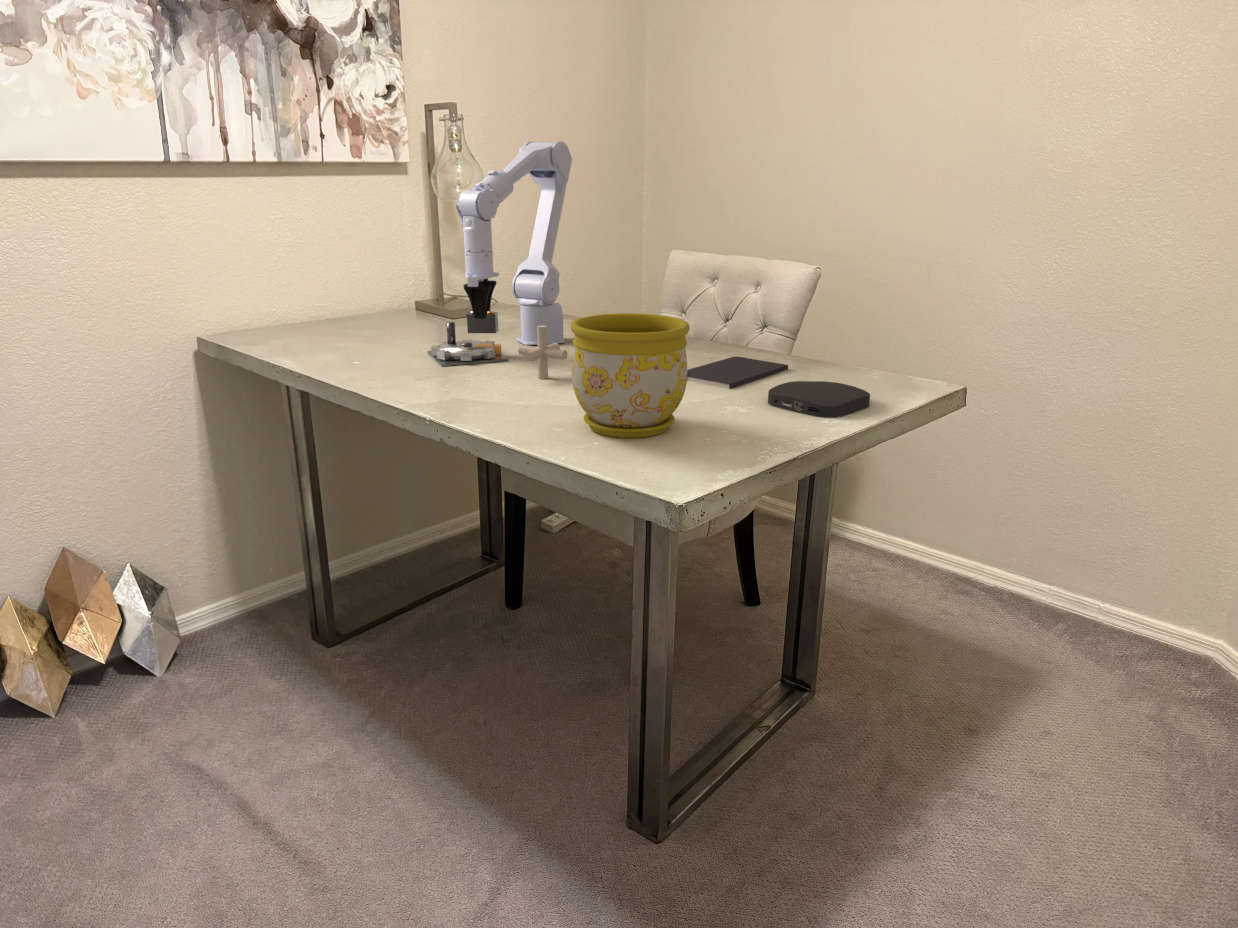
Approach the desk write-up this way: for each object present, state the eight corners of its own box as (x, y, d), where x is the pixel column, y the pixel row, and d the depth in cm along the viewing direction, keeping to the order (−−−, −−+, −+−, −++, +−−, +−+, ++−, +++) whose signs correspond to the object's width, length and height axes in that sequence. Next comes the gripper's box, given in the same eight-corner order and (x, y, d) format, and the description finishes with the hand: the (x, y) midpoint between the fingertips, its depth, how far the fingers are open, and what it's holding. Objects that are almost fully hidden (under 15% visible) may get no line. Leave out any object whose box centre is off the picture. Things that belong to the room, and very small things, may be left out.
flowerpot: (680, 410, 143) (683, 313, 137) (692, 444, 126) (696, 333, 120) (572, 411, 142) (571, 312, 137) (570, 444, 125) (569, 333, 120)
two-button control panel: (498, 330, 182) (497, 310, 181) (495, 333, 179) (494, 313, 178) (470, 330, 183) (469, 310, 181) (467, 333, 180) (466, 312, 178)
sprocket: (467, 344, 191) (466, 316, 189) (515, 352, 183) (514, 324, 181) (417, 354, 180) (415, 326, 178) (465, 364, 172) (464, 334, 170)
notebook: (729, 392, 157) (787, 372, 172) (729, 383, 156) (788, 364, 172) (674, 381, 165) (735, 363, 180) (674, 373, 164) (735, 355, 179)
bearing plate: (490, 348, 190) (490, 346, 190) (508, 361, 178) (507, 358, 178) (427, 353, 185) (427, 351, 185) (441, 366, 173) (441, 364, 173)
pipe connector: (507, 380, 162) (505, 328, 159) (535, 369, 170) (534, 320, 167) (551, 386, 158) (550, 333, 154) (578, 375, 166) (578, 324, 163)
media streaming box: (877, 406, 147) (879, 389, 146) (830, 422, 138) (832, 404, 137) (806, 390, 157) (807, 375, 156) (758, 405, 148) (759, 388, 147)
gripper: (491, 254, 168) (493, 323, 173) (504, 248, 182) (506, 311, 187) (455, 254, 169) (459, 322, 173) (471, 247, 182) (474, 311, 187)
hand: (481, 317), depth 180 cm, fingers closed on two-button control panel, 3 cm apart
